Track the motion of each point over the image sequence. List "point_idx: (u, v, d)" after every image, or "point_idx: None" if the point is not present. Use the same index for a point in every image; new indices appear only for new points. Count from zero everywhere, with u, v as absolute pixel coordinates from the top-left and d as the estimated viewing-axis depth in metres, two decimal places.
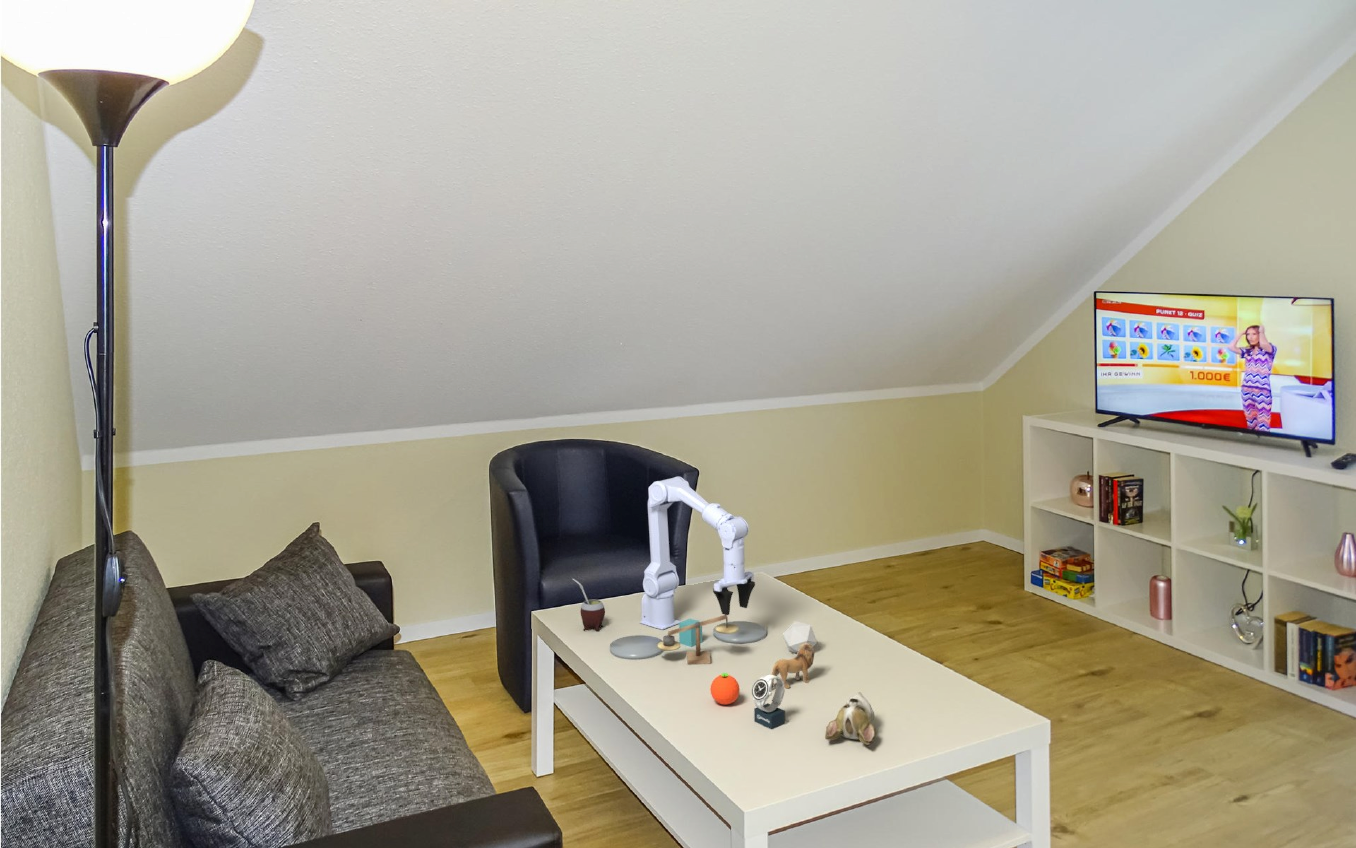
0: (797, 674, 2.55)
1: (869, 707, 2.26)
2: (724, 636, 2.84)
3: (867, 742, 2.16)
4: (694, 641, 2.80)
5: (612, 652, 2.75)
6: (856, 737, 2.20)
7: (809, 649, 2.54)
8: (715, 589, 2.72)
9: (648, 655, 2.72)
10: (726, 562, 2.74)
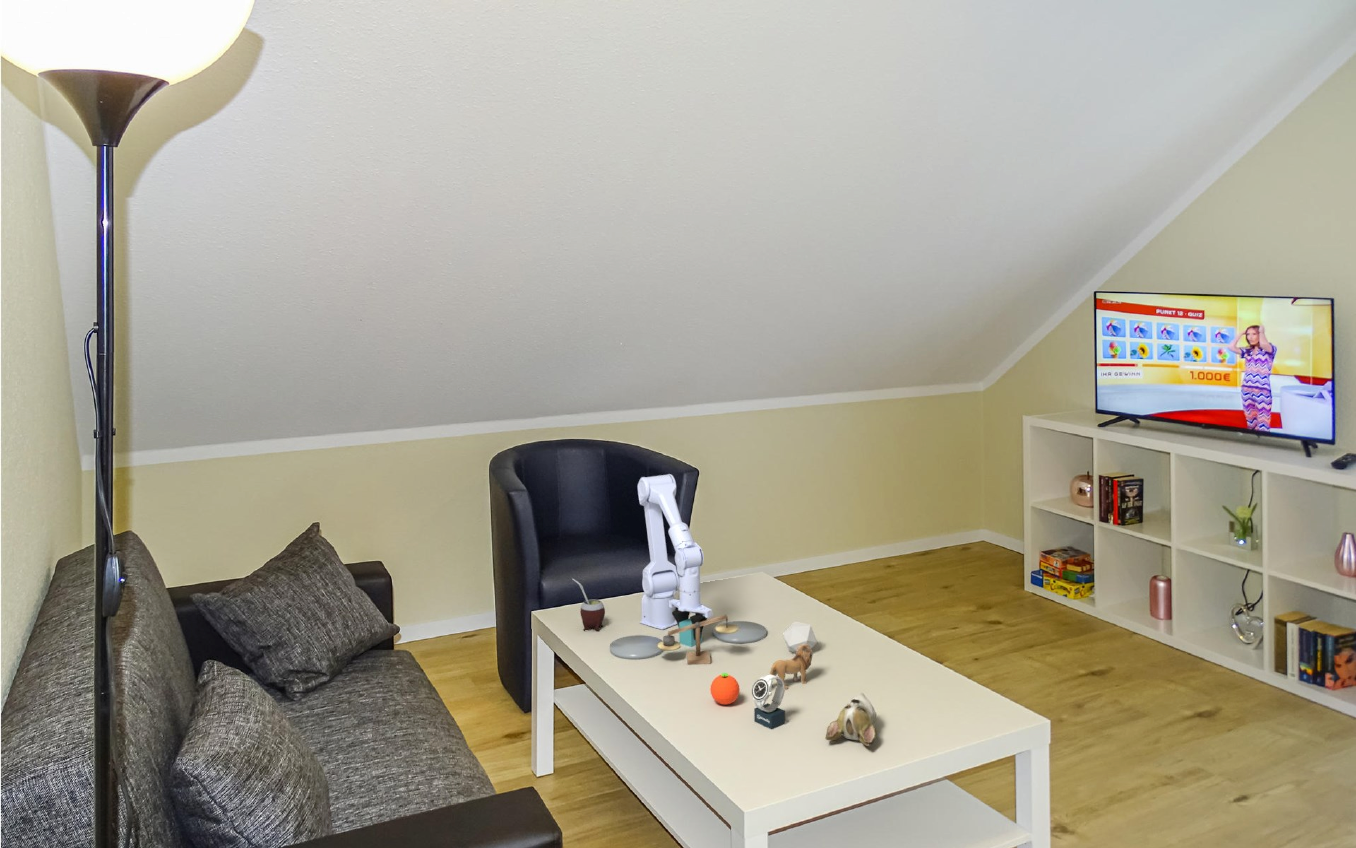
0: (795, 675, 2.54)
1: (871, 708, 2.26)
2: (724, 636, 2.84)
3: (867, 743, 2.15)
4: (694, 641, 2.80)
5: (612, 652, 2.75)
6: (857, 738, 2.20)
7: (807, 649, 2.53)
8: None
9: (648, 655, 2.72)
10: (680, 589, 2.79)
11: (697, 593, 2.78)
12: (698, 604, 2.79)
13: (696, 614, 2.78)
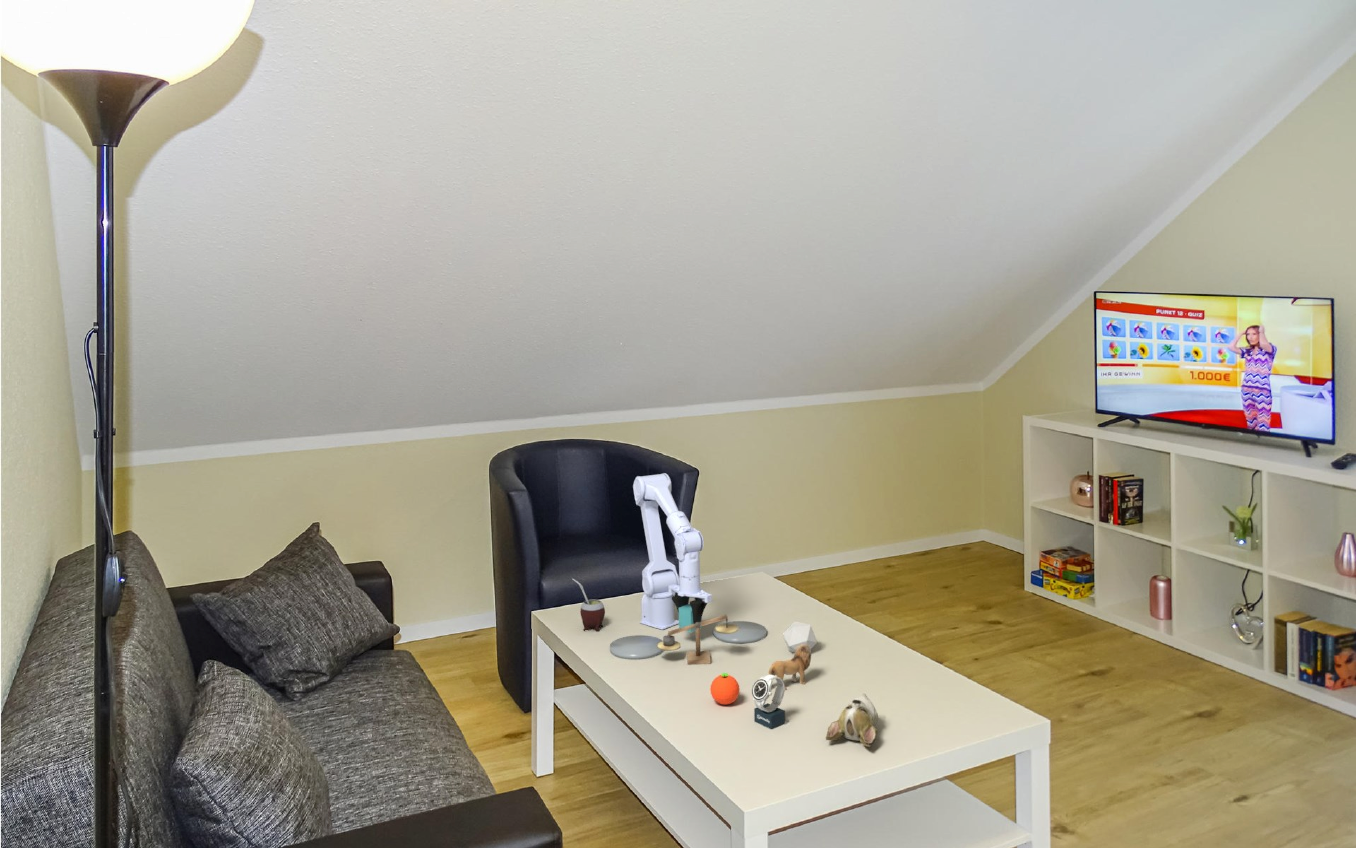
0: (794, 676, 2.54)
1: (873, 709, 2.25)
2: (724, 636, 2.84)
3: (867, 744, 2.15)
4: None
5: (612, 652, 2.75)
6: (857, 738, 2.20)
7: (805, 650, 2.53)
8: None
9: (648, 655, 2.72)
10: (680, 574, 2.79)
11: (697, 578, 2.78)
12: (698, 589, 2.79)
13: (696, 599, 2.78)
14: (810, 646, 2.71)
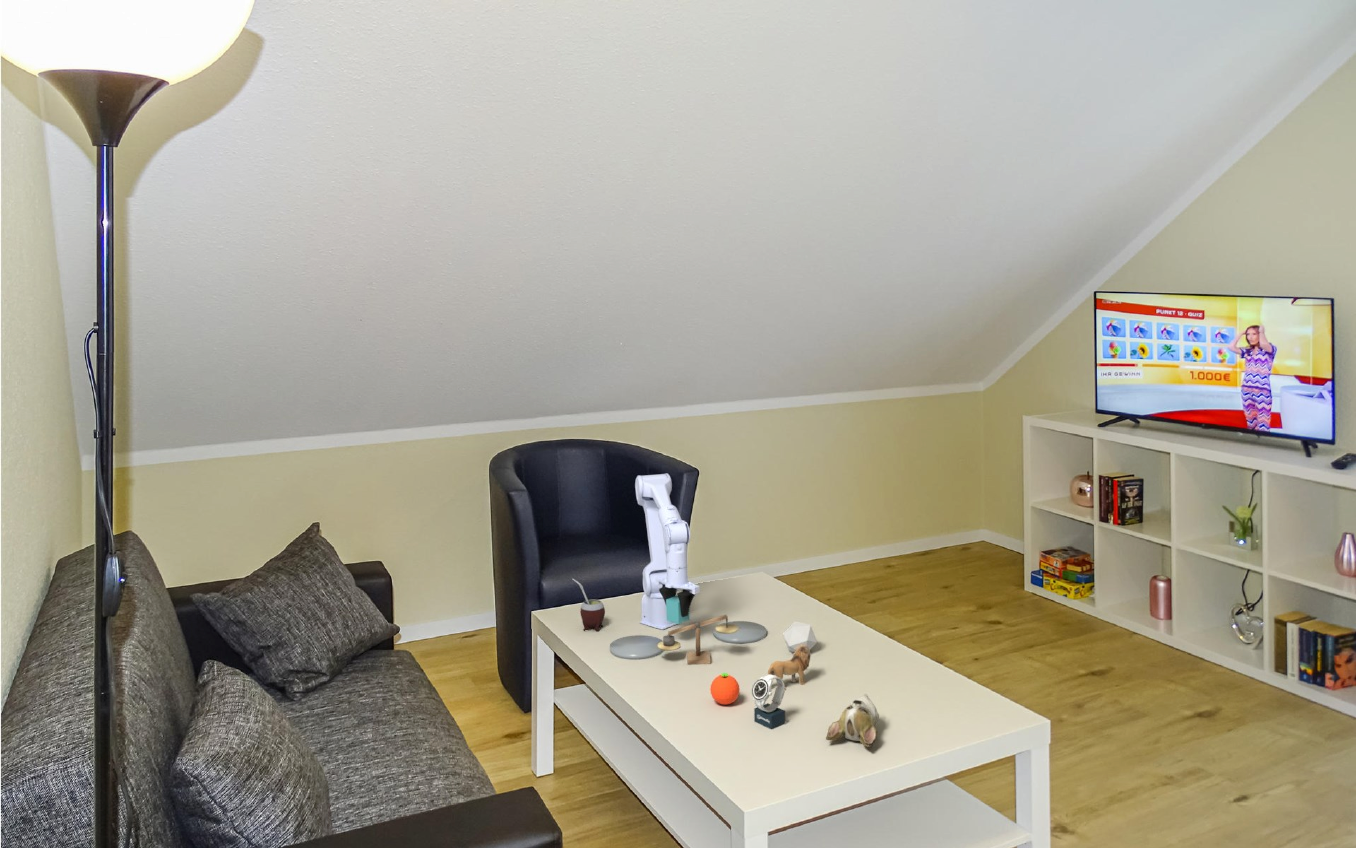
0: (793, 676, 2.54)
1: (874, 709, 2.25)
2: (724, 636, 2.84)
3: (867, 744, 2.15)
4: (681, 618, 2.78)
5: (612, 652, 2.75)
6: (858, 739, 2.19)
7: (805, 650, 2.53)
8: None
9: (648, 655, 2.72)
10: (666, 565, 2.78)
11: (684, 569, 2.77)
12: (685, 581, 2.77)
13: (683, 591, 2.77)
14: (810, 646, 2.71)
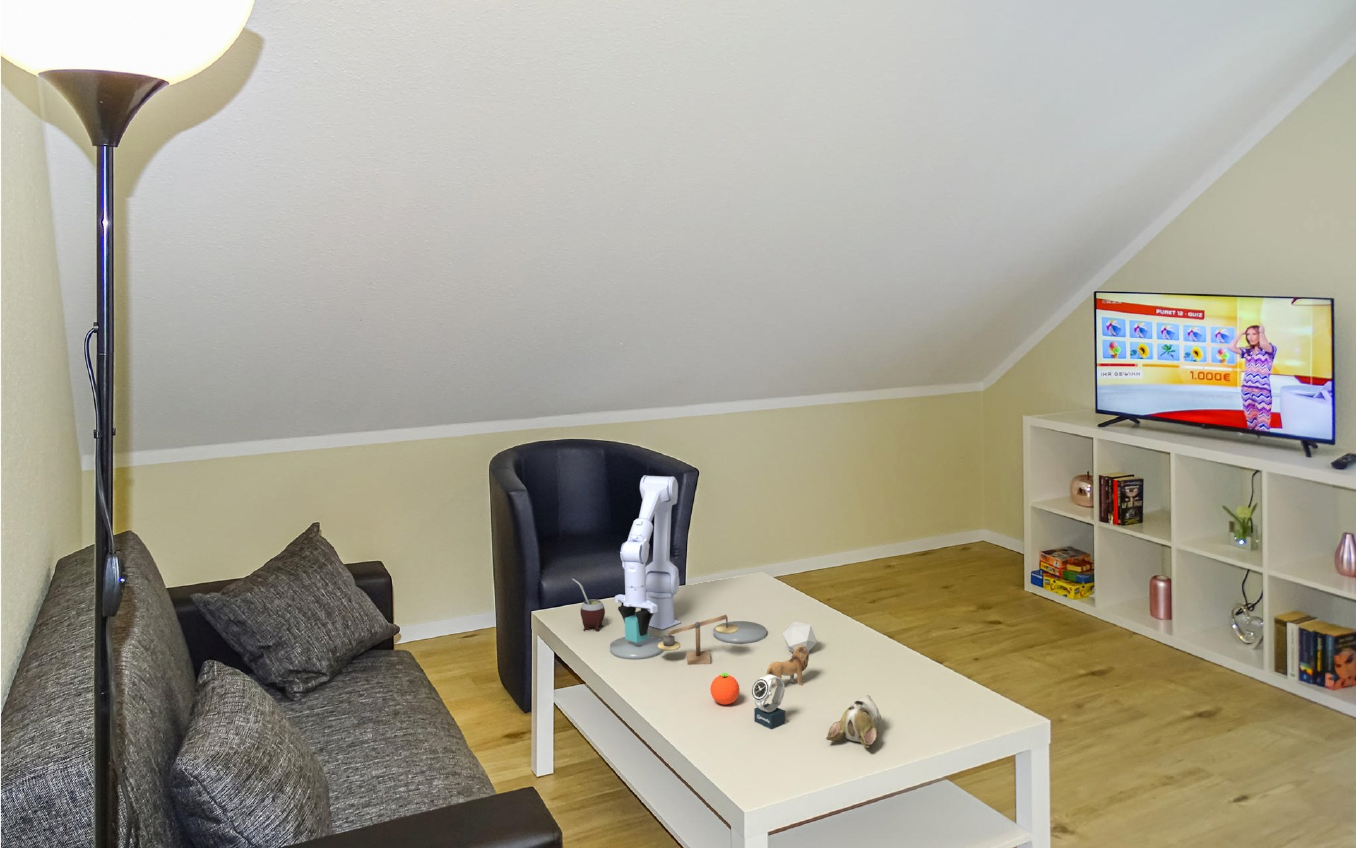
0: (791, 676, 2.53)
1: (876, 710, 2.24)
2: (724, 636, 2.84)
3: (867, 745, 2.14)
4: (640, 637, 2.76)
5: (612, 652, 2.75)
6: (858, 739, 2.19)
7: (803, 651, 2.52)
8: None
9: (648, 655, 2.72)
10: None
11: (642, 588, 2.74)
12: (644, 599, 2.75)
13: (641, 609, 2.74)
14: (810, 646, 2.71)
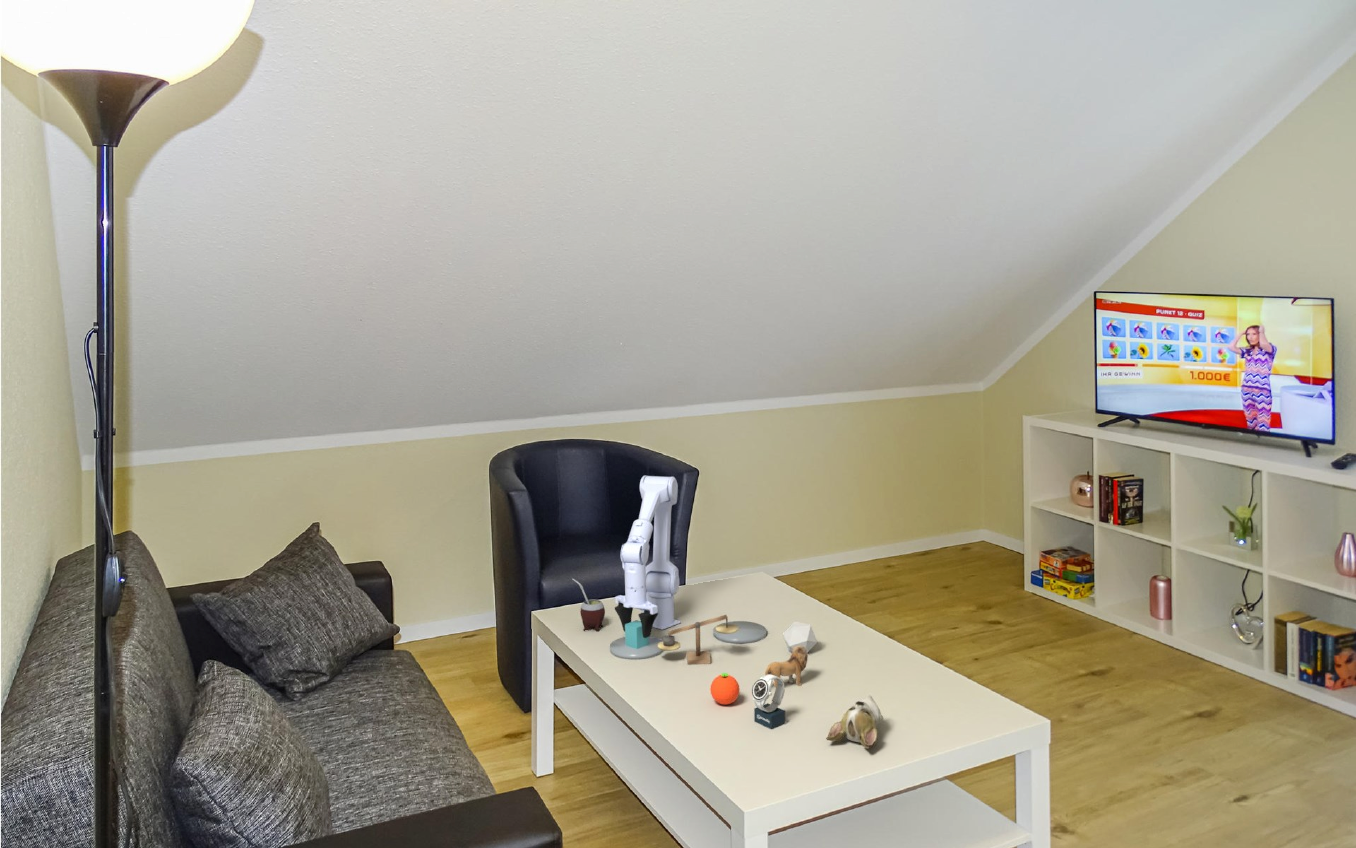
0: (790, 677, 2.53)
1: (877, 711, 2.24)
2: (724, 636, 2.84)
3: (867, 746, 2.14)
4: (640, 643, 2.76)
5: (612, 652, 2.75)
6: (859, 740, 2.19)
7: (802, 651, 2.52)
8: None
9: (648, 655, 2.72)
10: None
11: (642, 589, 2.74)
12: (644, 600, 2.75)
13: (645, 611, 2.73)
14: (810, 646, 2.71)
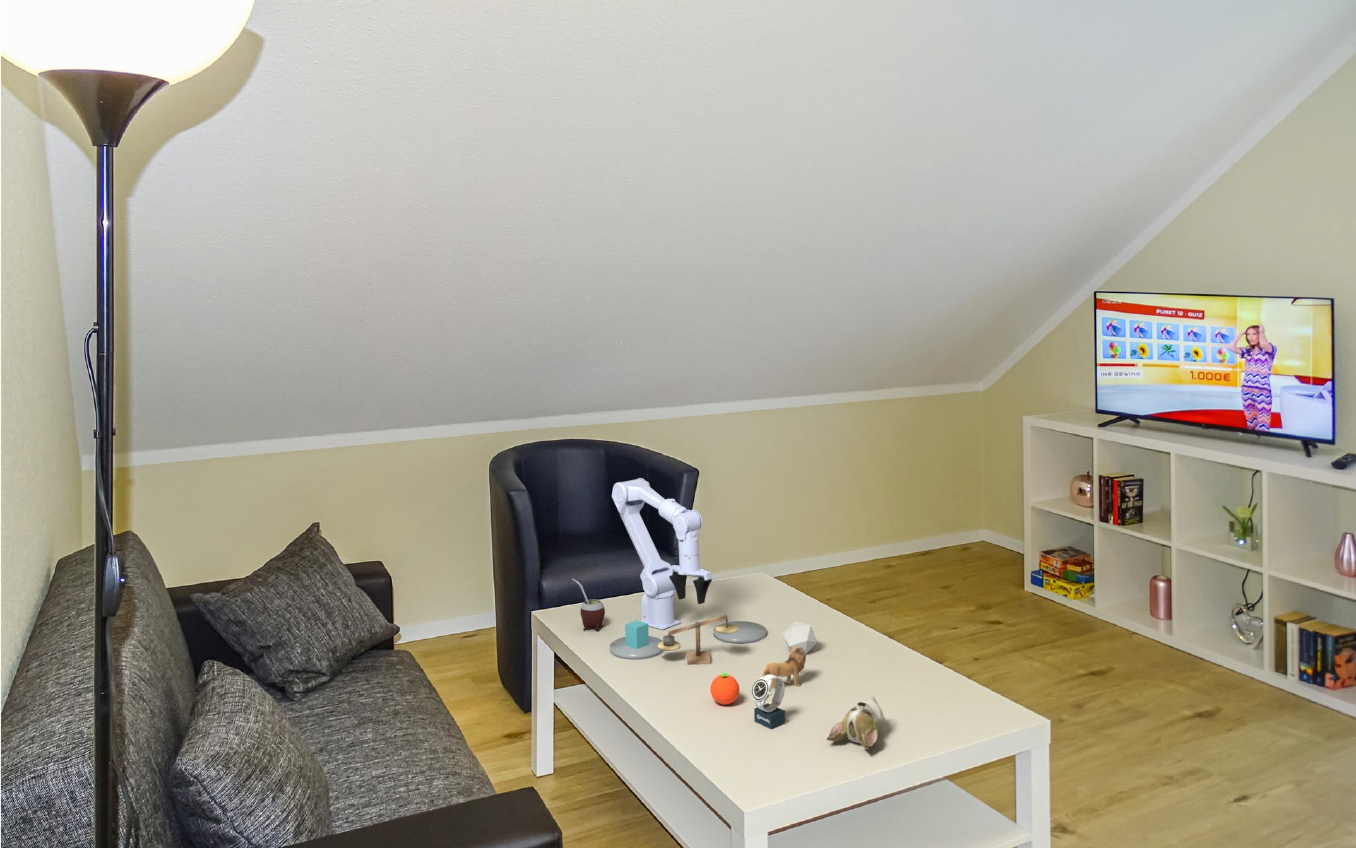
0: (788, 678, 2.53)
1: (879, 712, 2.23)
2: (724, 636, 2.84)
3: (866, 747, 2.14)
4: (640, 643, 2.76)
5: (612, 652, 2.75)
6: (860, 741, 2.18)
7: (800, 652, 2.52)
8: None
9: (648, 655, 2.72)
10: (681, 553, 2.84)
11: (696, 557, 2.84)
12: (697, 568, 2.85)
13: (699, 578, 2.83)
14: (810, 646, 2.71)
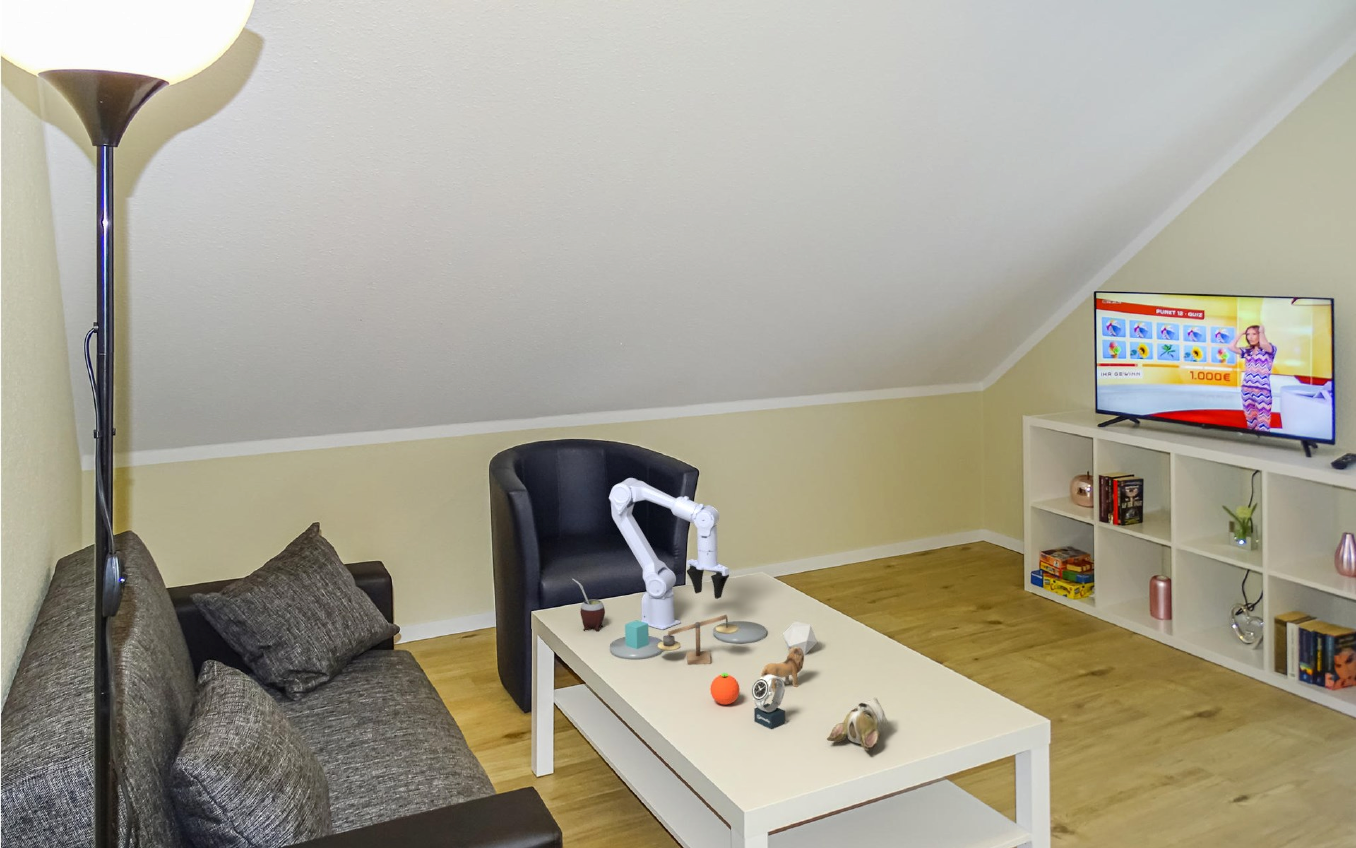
0: (787, 678, 2.52)
1: (881, 714, 2.23)
2: (724, 636, 2.84)
3: (866, 748, 2.13)
4: (640, 643, 2.76)
5: (612, 652, 2.75)
6: (860, 742, 2.18)
7: (798, 652, 2.51)
8: None
9: (648, 655, 2.72)
10: (703, 549, 2.88)
11: (714, 552, 2.89)
12: (715, 563, 2.89)
13: (717, 573, 2.88)
14: (810, 646, 2.71)
